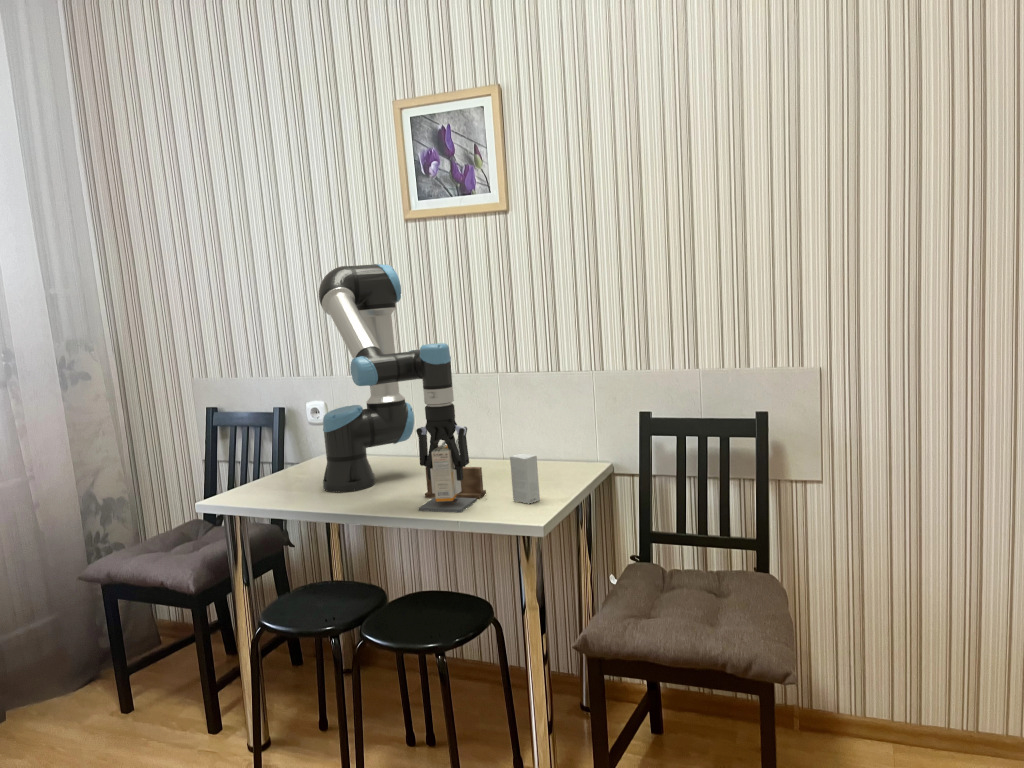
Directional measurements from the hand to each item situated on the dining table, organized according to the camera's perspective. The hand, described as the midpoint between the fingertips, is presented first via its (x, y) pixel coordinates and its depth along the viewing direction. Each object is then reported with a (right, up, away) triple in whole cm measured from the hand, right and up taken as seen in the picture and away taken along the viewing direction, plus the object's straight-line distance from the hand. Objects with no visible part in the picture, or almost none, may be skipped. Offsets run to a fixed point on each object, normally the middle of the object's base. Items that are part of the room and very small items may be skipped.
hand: (446, 492), depth 199 cm
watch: (0, +1, +36) cm, 36 cm away
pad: (0, -4, 0) cm, 4 cm away
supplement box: (0, -2, 0) cm, 2 cm away
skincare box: (+21, -2, 0) cm, 21 cm away
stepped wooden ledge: (+2, -2, +10) cm, 10 cm away
